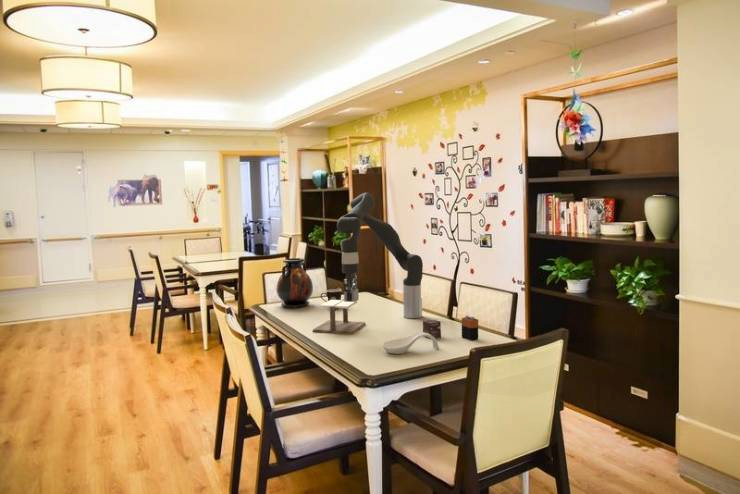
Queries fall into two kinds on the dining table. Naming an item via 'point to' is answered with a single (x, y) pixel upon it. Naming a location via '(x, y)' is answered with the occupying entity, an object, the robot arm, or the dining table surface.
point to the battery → (470, 328)
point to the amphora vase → (294, 284)
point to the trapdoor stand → (339, 324)
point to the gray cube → (354, 296)
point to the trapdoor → (338, 304)
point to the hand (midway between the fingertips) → (351, 299)
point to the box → (432, 328)
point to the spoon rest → (406, 343)
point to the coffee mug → (333, 295)
